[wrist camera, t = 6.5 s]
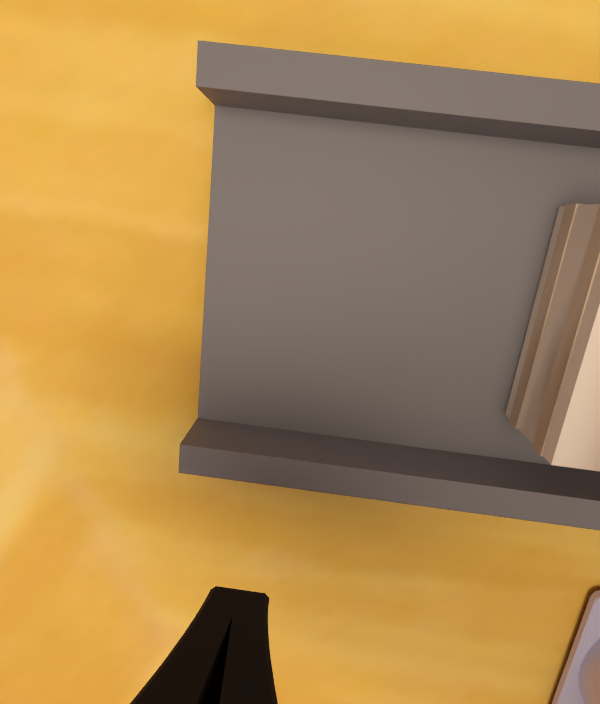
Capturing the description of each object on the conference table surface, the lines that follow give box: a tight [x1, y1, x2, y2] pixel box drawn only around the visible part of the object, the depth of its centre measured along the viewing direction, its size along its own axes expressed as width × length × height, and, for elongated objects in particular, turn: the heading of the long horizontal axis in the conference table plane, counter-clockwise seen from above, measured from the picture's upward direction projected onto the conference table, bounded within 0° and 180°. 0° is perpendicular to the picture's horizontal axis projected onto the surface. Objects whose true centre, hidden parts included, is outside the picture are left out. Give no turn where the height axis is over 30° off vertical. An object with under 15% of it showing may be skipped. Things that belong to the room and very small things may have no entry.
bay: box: [179, 41, 600, 530], centre depth 17 cm, size 21×14×3 cm
